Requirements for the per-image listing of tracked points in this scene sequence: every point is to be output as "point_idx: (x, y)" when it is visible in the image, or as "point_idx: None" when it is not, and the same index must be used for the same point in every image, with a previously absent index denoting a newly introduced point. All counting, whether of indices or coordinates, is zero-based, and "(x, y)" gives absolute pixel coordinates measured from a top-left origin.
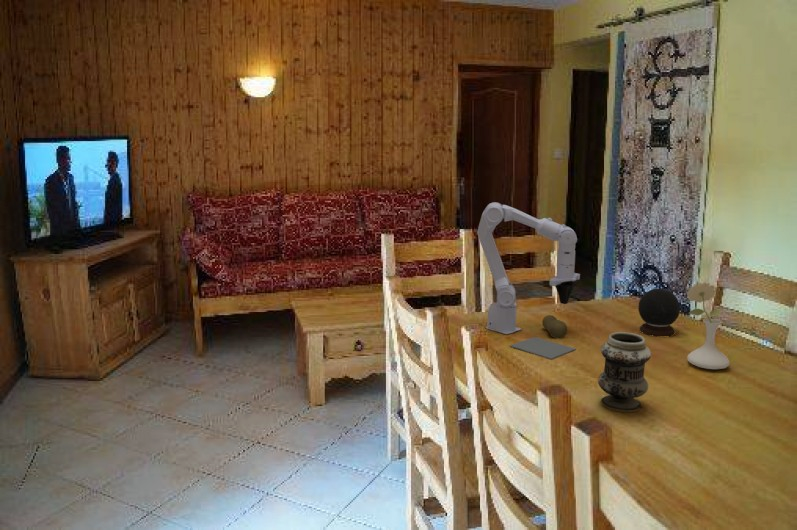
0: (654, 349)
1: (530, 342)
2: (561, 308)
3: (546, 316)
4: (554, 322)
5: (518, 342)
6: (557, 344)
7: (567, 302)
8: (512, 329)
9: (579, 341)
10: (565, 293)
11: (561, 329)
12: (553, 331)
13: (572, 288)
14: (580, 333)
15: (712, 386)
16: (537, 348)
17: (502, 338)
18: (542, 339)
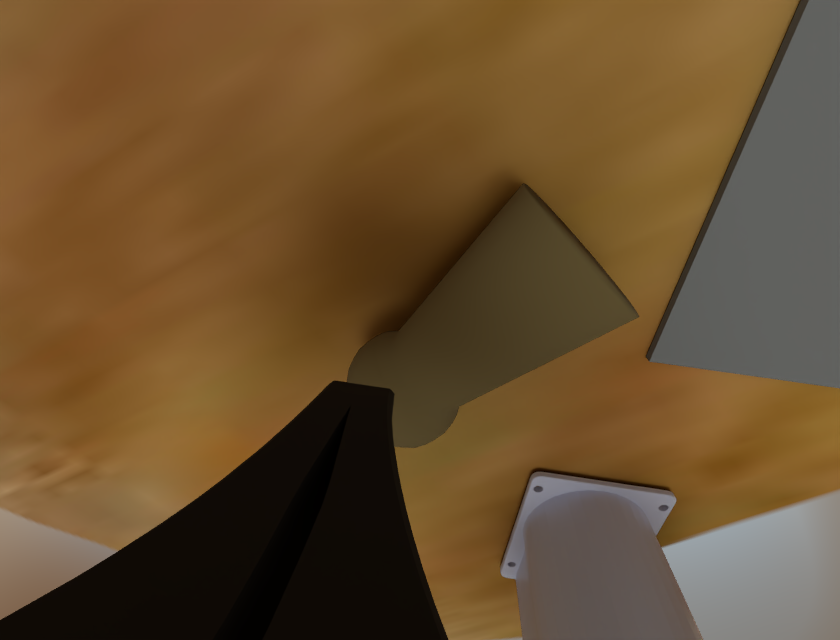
0: None
1: (807, 327)
2: (10, 464)
3: (420, 440)
4: (628, 306)
5: (838, 386)
6: (776, 135)
7: (335, 387)
8: (615, 501)
9: (537, 27)
10: (420, 569)
11: (562, 227)
12: (605, 273)
13: (59, 625)
14: (323, 142)
15: None
16: None
17: (751, 482)
18: (688, 293)
